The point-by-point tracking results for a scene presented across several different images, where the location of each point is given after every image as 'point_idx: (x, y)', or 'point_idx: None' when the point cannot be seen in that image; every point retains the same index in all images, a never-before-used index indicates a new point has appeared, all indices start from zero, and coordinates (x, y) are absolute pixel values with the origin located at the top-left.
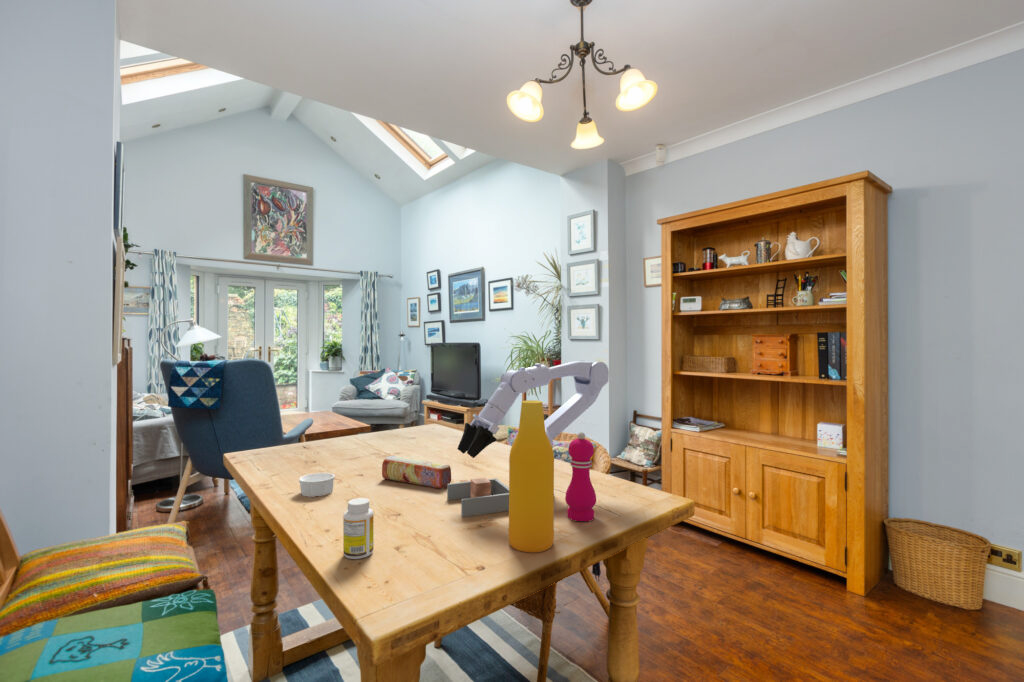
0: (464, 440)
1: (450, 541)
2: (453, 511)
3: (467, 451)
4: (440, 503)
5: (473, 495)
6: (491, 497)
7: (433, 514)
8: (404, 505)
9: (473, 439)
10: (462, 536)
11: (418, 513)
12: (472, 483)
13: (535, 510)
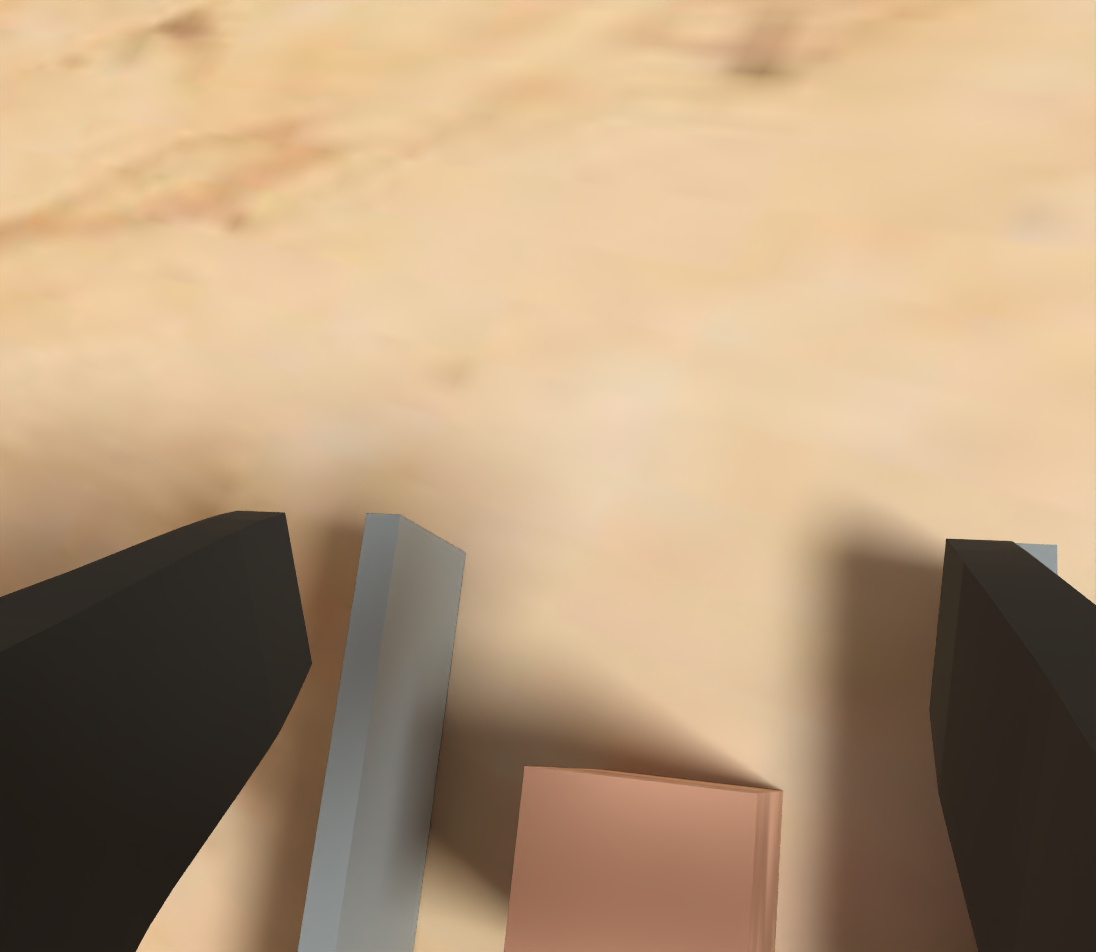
0: (1012, 724)
1: (94, 330)
2: (611, 525)
3: (248, 516)
4: (905, 473)
5: (651, 777)
6: (317, 864)
7: (622, 335)
8: (994, 129)
9: (47, 628)
10: (115, 426)
11: (707, 219)
12: (671, 782)
13: None
